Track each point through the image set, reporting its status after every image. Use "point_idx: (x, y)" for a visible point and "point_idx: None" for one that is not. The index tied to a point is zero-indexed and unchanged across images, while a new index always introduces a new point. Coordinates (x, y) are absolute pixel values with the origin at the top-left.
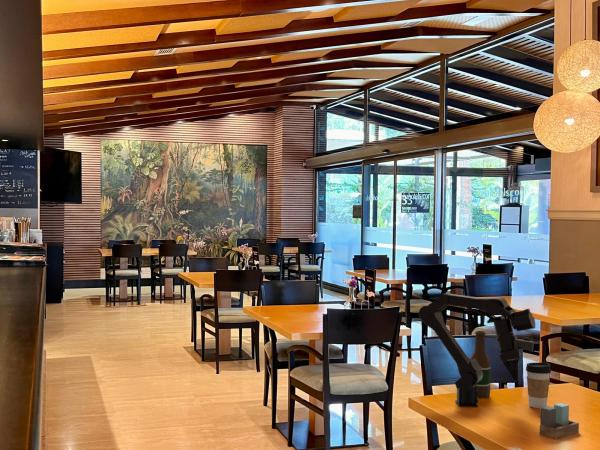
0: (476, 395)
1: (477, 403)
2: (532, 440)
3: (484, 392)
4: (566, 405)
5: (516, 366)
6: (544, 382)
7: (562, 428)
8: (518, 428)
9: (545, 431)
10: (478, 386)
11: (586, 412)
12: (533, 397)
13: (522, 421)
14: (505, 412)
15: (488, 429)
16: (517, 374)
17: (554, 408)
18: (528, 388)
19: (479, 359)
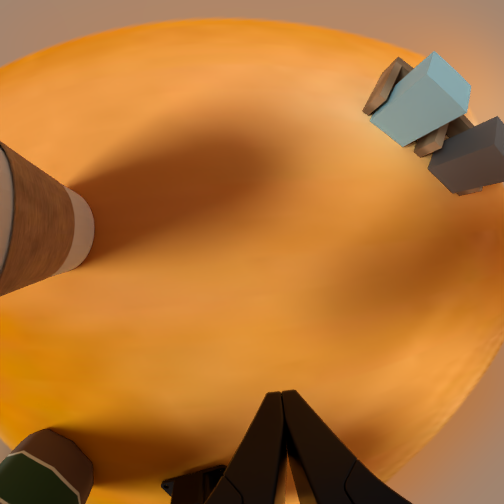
0: (207, 498)
1: (203, 472)
2: (497, 215)
3: (71, 459)
4: (445, 62)
5: (393, 495)
6: (18, 162)
7: (466, 120)
8: (438, 269)
9: None
10: (79, 492)
11: (95, 50)
12: (70, 246)
13: (356, 268)
14: (246, 362)
15: (466, 351)
16: (321, 419)
17: (502, 123)
18: (30, 282)
19: None
